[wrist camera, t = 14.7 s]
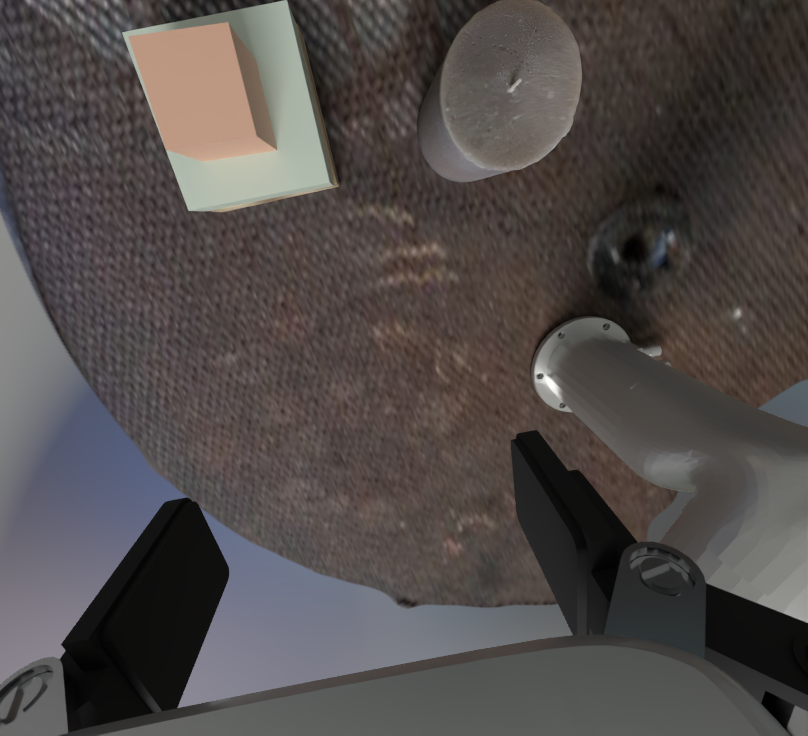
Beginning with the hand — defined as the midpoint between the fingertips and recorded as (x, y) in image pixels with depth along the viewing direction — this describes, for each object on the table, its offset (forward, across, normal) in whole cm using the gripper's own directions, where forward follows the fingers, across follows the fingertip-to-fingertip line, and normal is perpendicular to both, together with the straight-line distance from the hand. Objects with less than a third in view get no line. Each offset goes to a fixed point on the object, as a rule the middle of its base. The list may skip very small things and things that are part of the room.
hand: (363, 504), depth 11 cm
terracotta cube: (+27, +8, -17) cm, 33 cm away
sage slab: (+31, +7, -17) cm, 36 cm away
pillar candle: (+34, -12, -14) cm, 39 cm away
